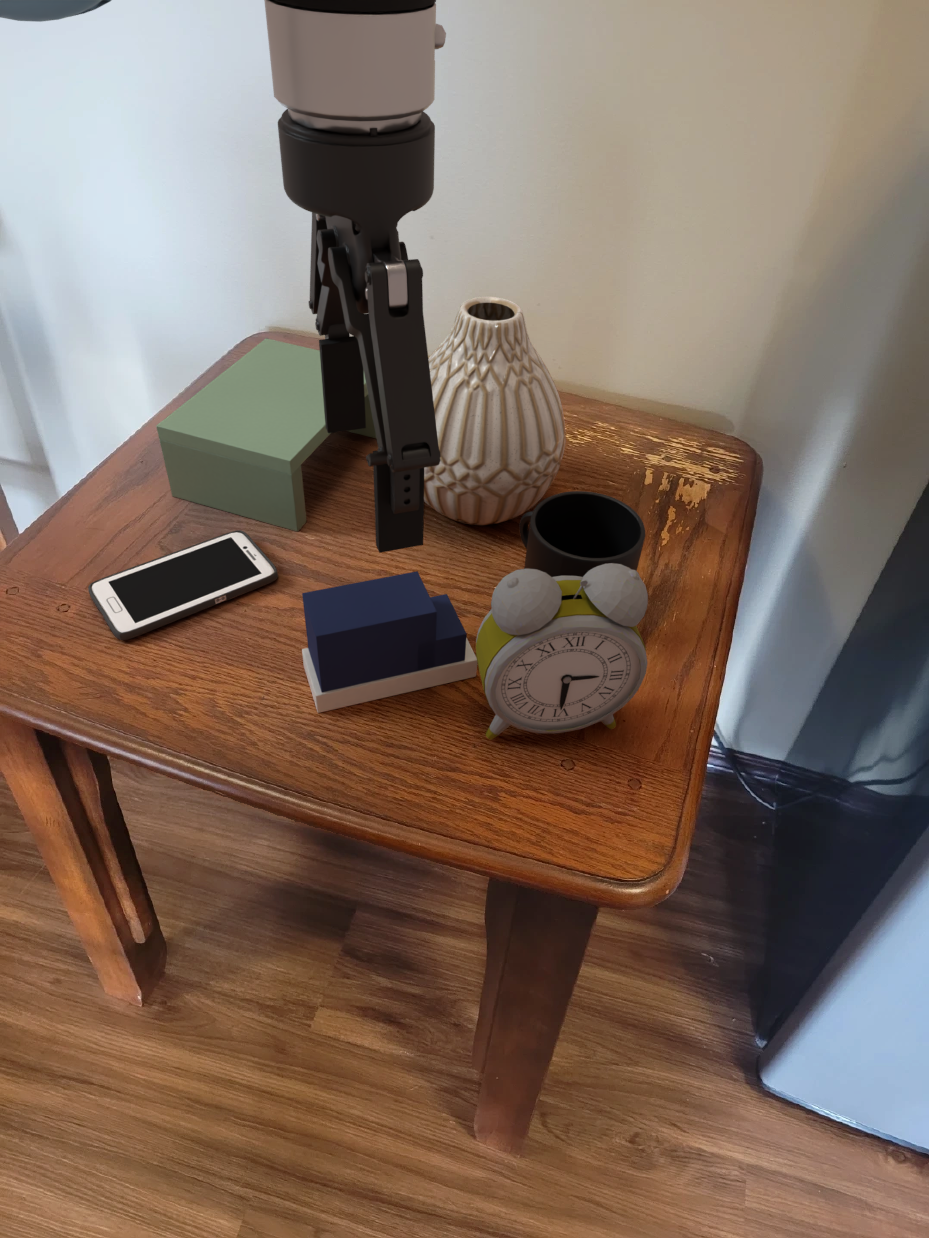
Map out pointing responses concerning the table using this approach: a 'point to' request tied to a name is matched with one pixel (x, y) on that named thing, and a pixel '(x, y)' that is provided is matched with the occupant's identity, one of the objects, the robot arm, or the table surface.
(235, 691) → the table surface
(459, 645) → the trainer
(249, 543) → the cell phone
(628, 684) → the alarm clock
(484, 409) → the vase
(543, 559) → the mug
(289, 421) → the sage green footstool
